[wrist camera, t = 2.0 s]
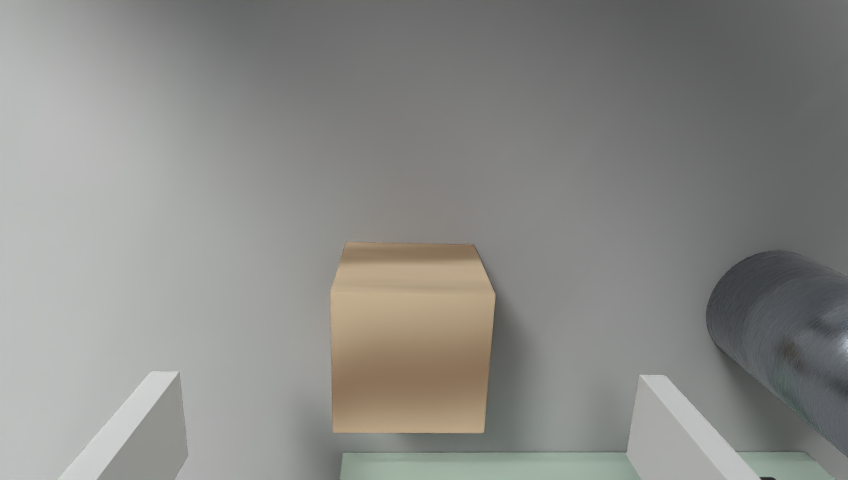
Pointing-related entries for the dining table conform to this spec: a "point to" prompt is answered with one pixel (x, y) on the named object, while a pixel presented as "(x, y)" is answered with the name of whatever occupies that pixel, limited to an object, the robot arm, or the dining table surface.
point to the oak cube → (410, 339)
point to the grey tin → (789, 334)
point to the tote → (547, 466)
